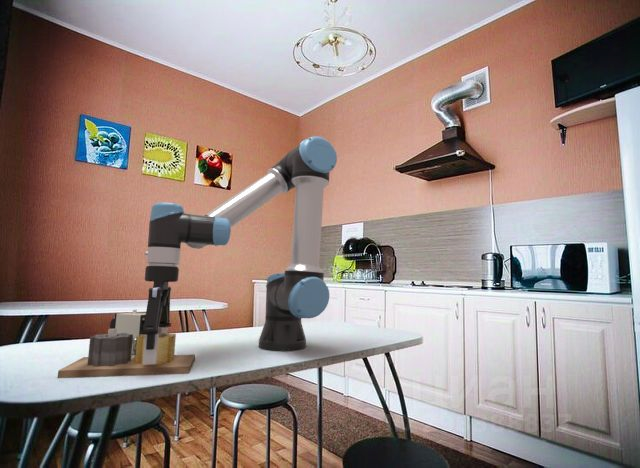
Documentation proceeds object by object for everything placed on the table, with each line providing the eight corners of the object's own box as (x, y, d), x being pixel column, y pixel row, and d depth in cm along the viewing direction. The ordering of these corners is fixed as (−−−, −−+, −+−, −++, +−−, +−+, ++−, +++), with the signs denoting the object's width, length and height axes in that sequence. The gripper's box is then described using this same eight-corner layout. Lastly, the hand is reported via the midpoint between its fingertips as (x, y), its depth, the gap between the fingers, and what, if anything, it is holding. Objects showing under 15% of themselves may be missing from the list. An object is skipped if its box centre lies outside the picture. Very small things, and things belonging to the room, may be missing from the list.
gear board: (195, 360, 93) (197, 325, 94) (189, 373, 80) (191, 332, 81) (83, 363, 87) (87, 325, 88) (57, 378, 74) (62, 333, 75)
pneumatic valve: (143, 356, 96) (147, 311, 97) (106, 353, 98) (110, 309, 100) (156, 352, 101) (160, 309, 103) (121, 350, 103) (125, 308, 105)
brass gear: (140, 357, 88) (142, 332, 88) (176, 356, 89) (177, 332, 90) (130, 365, 80) (132, 338, 80) (170, 364, 81) (172, 337, 82)
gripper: (156, 266, 98) (149, 349, 95) (133, 263, 75) (123, 371, 73) (185, 267, 99) (178, 349, 96) (170, 264, 77) (162, 370, 74)
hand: (154, 358), depth 85 cm, fingers open, 10 cm apart
